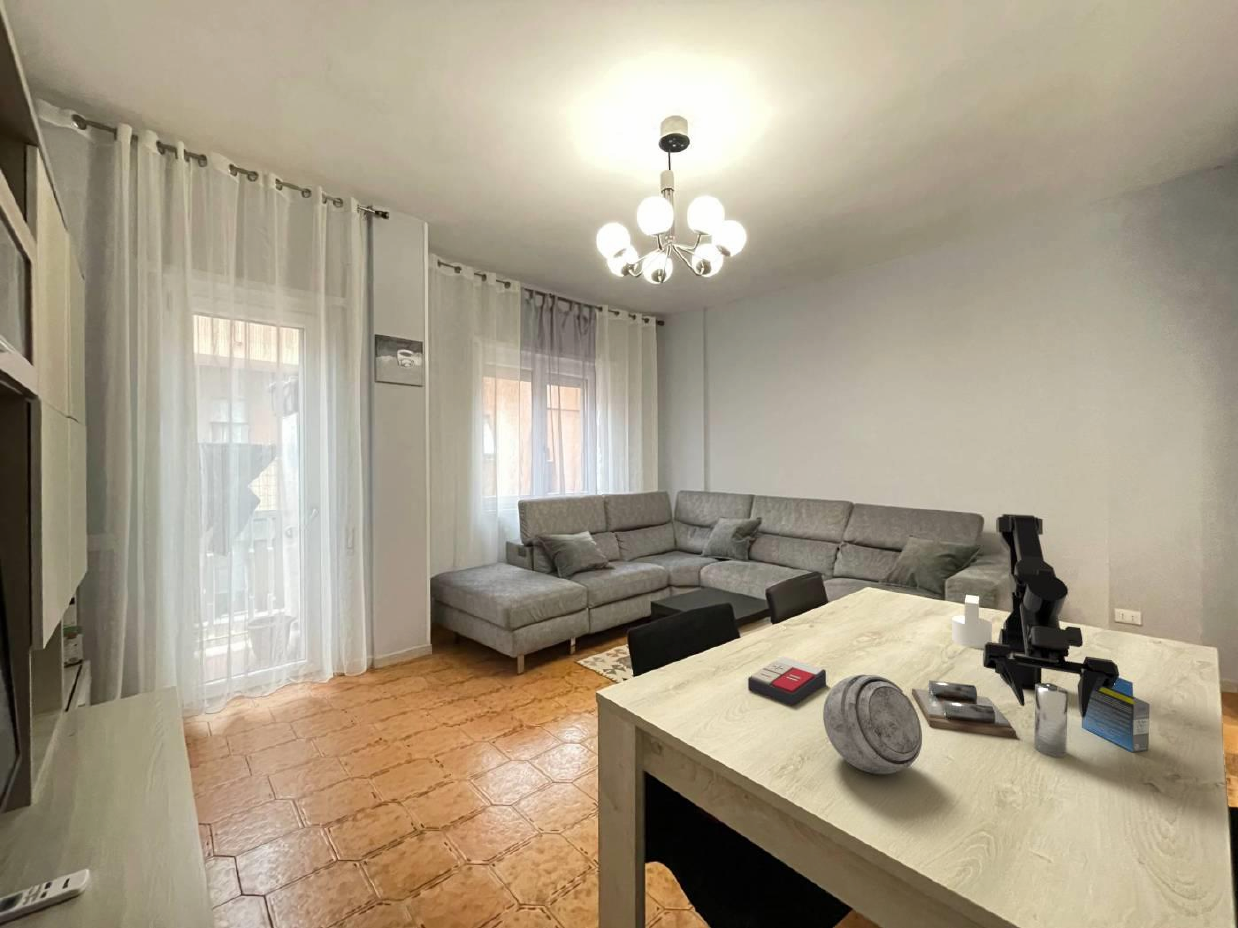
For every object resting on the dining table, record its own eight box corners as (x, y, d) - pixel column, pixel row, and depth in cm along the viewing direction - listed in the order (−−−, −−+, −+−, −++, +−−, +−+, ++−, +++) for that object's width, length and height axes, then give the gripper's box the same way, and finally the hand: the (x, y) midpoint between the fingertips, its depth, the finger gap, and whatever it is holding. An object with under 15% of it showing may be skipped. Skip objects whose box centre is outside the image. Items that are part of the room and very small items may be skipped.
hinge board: (987, 702, 110) (987, 697, 110) (1015, 737, 96) (1015, 731, 96) (911, 693, 114) (912, 688, 114) (929, 726, 100) (929, 720, 100)
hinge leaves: (986, 698, 109) (987, 684, 109) (1012, 728, 97) (1012, 712, 97) (914, 690, 113) (914, 676, 113) (930, 718, 101) (930, 702, 101)
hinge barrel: (1058, 745, 94) (1059, 681, 93) (1071, 759, 89) (1073, 692, 89) (1029, 741, 95) (1030, 678, 95) (1041, 755, 91) (1042, 688, 90)
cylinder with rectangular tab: (953, 634, 151) (953, 592, 150) (991, 641, 145) (992, 597, 145) (950, 643, 143) (951, 600, 143) (991, 651, 138) (992, 605, 138)
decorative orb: (874, 804, 78) (875, 704, 78) (804, 753, 92) (804, 667, 91) (940, 779, 84) (942, 686, 84) (866, 734, 97) (866, 654, 97)
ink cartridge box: (1150, 751, 92) (1152, 681, 92) (1132, 753, 91) (1133, 683, 91) (1096, 725, 101) (1098, 661, 100) (1079, 726, 100) (1080, 662, 100)
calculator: (747, 674, 116) (782, 653, 126) (747, 693, 116) (782, 670, 127) (793, 691, 108) (826, 666, 118) (793, 711, 108) (826, 685, 119)
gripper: (985, 599, 100) (991, 679, 90) (1116, 614, 90) (1138, 704, 81) (980, 628, 107) (985, 705, 97) (1102, 645, 97) (1120, 731, 88)
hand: (1052, 710), depth 91 cm, fingers open, 8 cm apart
